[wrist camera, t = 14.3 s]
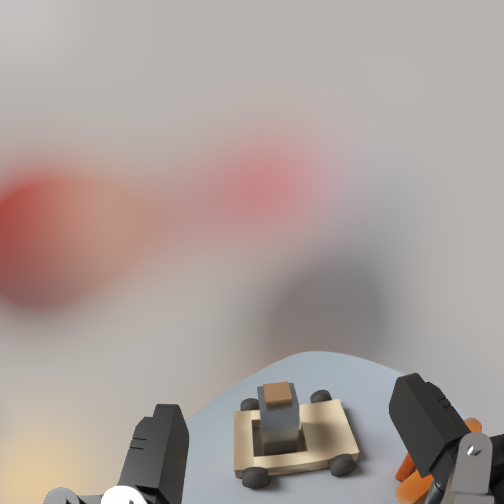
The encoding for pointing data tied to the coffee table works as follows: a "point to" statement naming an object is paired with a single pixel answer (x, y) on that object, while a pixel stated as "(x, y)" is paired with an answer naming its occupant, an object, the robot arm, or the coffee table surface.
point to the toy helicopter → (413, 485)
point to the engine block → (278, 418)
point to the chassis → (309, 442)
